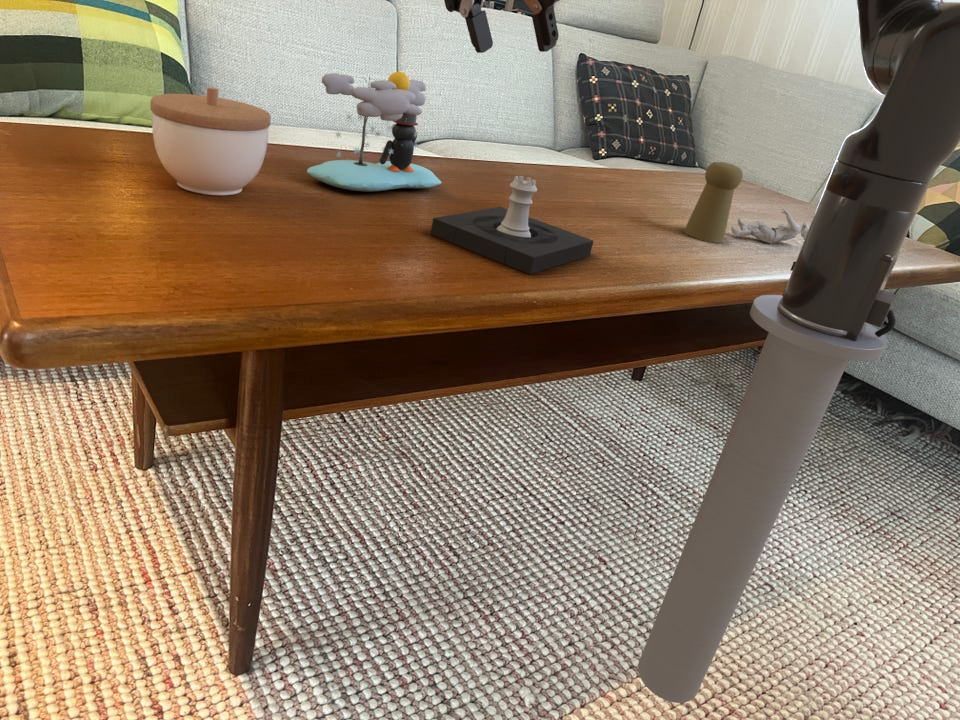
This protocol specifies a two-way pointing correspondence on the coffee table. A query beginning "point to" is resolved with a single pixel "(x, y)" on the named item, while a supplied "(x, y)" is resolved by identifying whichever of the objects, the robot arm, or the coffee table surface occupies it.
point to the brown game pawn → (714, 203)
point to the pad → (512, 240)
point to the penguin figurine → (390, 105)
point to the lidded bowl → (209, 141)
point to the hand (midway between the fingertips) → (515, 49)
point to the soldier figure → (772, 230)
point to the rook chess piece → (519, 208)
